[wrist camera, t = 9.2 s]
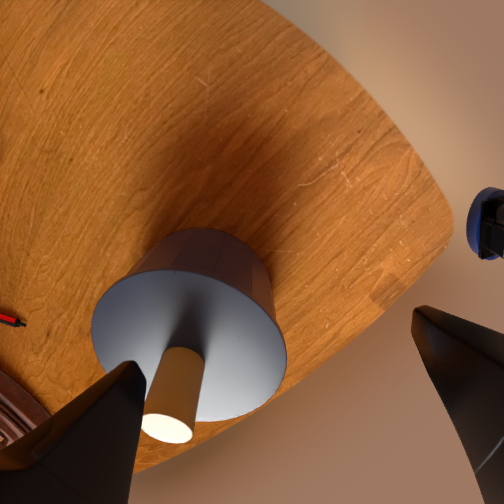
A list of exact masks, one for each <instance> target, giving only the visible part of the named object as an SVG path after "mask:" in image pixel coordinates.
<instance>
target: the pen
mask: <svg viewBox="0 0 504 504" xmlns="http://www.w3.org/2000/svg"><path fill="white" fill-rule="evenodd" d="M0 322H1V323H4V324H7V325H10V326H13V327H19V326H24V327H26V324H25V323H22V322H20V320H19V319H16V318H12V317H9V316H6V315H3V314H0Z"/></svg>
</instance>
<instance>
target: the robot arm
mask: <svg viewBox="0 0 504 504" xmlns="http://www.w3.org/2000/svg"><path fill="white" fill-rule="evenodd" d="M495 255H498V256H499V257H501V258H503V259H504V196H502V197H496V198H491V199H485V200H483V201H482V202H481V219H480V239H479V251H478V257H479V258H480V259H481V260H483V259H486V258H489V257H492V256H495ZM411 333H412V337H413V339H414V341H415V344H416V346H417V348H418V351H419V353H420V355H421V358H422V361H423V363H424V366H425V368H426V370H427V372H428V374H429V377H430V378H431V381H432V382H433V384H434V386H435V388H436V390H437V392H438V394H439V396H440V398H441V400H442V402H443V404H444V406H445V408H446V410H447V412H448V414H449V416H450V418H451V420H452V422H453V424H454V427H455V429H456V431H457V433H458V435H459V438H460V440H461V442H462V445H463V447H464V449H465V452H466V454H467V456H468V459H469V461H470V464H471V466H472V469H473V472H474V473H475V477H476V480H477V483H478V485H479V488H480V491H481V494H482V497H483V500H484V503H485V504H504V334H502V333H499V332H497V331H494V330H492V329H489V328H486V327H484V326H481V325H478V324H476V323H473V322H470V321H467V320H465V319H462V318H459V317H457V316H454V315H451V314H449V313H446V312H443V311H441V310H438V309H435V308H433V307H430V306H427V305H422V306H419V307H416V308H415V309H414V310H413V314H412V325H411ZM146 387H147V380H146V377H145V375H144V374H143V372H142V370H141V369H140V367H139V365H138V364H137V362H136V361H134V360H128V361H123V362H122V363H120V364H119V365H118V366H117V367H115V368H114V369H113V370H111V371H110V372H109V373H107V374H106V375H105V376H104V377H102V378H101V379H100V380H98V381H97V382H96V383H94V384H93V385H92V386H90V387H89V388H88V389H87V390H85V391H84V392H83V393H81V394H80V395H79V396H77V397H76V398H75V399H73V400H72V401H71V402H70V403H68V404H67V405H66V406H64V407H63V408H62V409H60V410H59V411H58V412H56V413H55V414H54V416H51V417H50V418H48V419H47V420H46V421H44V422H43V423H42V424H40V425H39V426H37V427H36V428H35V429H33V430H32V431H30V432H29V433H27V434H26V435H24V436H22V437H21V438H19V439H18V440H16V441H14V442H13V443H11V444H10V445H8V446H6V447H5V448H3V449H0V504H128V498H129V491H130V486H131V479H132V474H133V468H134V462H135V457H136V452H137V447H138V442H139V437H140V432H141V427H142V422H143V414H144V405H145V396H146Z"/></svg>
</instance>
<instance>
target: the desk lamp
mask: <svg viewBox="0 0 504 504" xmlns="http://www.w3.org/2000/svg"><path fill="white" fill-rule="evenodd" d="M50 417H51V416H50V414H49V413H48V412H47V411H46V410H45V408H44V407H42V406H41V405H40V404H39V403H38V402H37V401H36V400H35V399H34V398H33V397H32V396H31V395H30V394H29V393H28V392H27V391H26V390H25V389H24V388H22V387H21V386H20V385H19V384H18V383H17V382H16V381H15V380H14V379H12V378H11V377H9V376H8V375H7V374H5V373H4V372H3V371H1V370H0V438H1V439H2V442H0V449H3V448H5V447H6V446H7V444H9V445H10V444H11V443H13V442H14V441H16V440H18V439H19V438H21V437H22V436H24V435H26V434H27V433H29V432H30V431H32V430H33V429H35V428H36V427H37V426H39V425H40V424H42V423H43V422H44V421H46V420H47V419H48V418H50Z"/></svg>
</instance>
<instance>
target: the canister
mask: <svg viewBox="0 0 504 504" xmlns="http://www.w3.org/2000/svg"><path fill="white" fill-rule="evenodd" d="M157 266H183V267H191V268H196V269H200V270H204V271H208V272H211V273H214V274H216V275H219V276H222V277H224V278H226V279H228V280H230V281H232V282H234V283H236V284H238V285H239V286H241V287H242V288H244V289H245V290H247V291H248V292H250V293H251V294H252V295H253V296H255V297H256V298H257V299H258V300H259V301H261V302H262V304H263V305H264V306H265V307H266V308H267V309H268V310H269V311H270V313H271V314H272V315H273V317H274V318H275V320H276V314H275V307H274V299H273V293H272V289H271V283H270V279H269V274H268V271H267V270H266V268H265V266H264V264H263V263H262V261H261V259H260V258H259V257H258V255H257V254H256V253H255V252H254V251H253V250H252V249H251V248H250V247H249V246H248V245H247V244H245V243H244V242H242V241H241V240H239V239H238V238H236V237H234V236H232V235H230V234H227V233H225V232H222V231H218V230H214V229H207V228H191V229H185V230H181V231H178V232H174V233H172V234H170V235H168V236H166V237H165V238H163V239H162V240H160V241H159V242H158V243H157V244H156V245H154V246H153V247H152V248H151V249H149V250H148V251H147V252H146V253H145V254H144V256H143V257H142V258H141V259H140V260H139V261H138V262H137V263H136V264H135V265H134V266H133V268H132V269H131V270H130V271H129V272H128V273H127V274H126V275H128V274H130V273H133V272H135V271H138V270H142V269H145V268H149V267H157ZM126 275H125V276H126Z"/></svg>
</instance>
